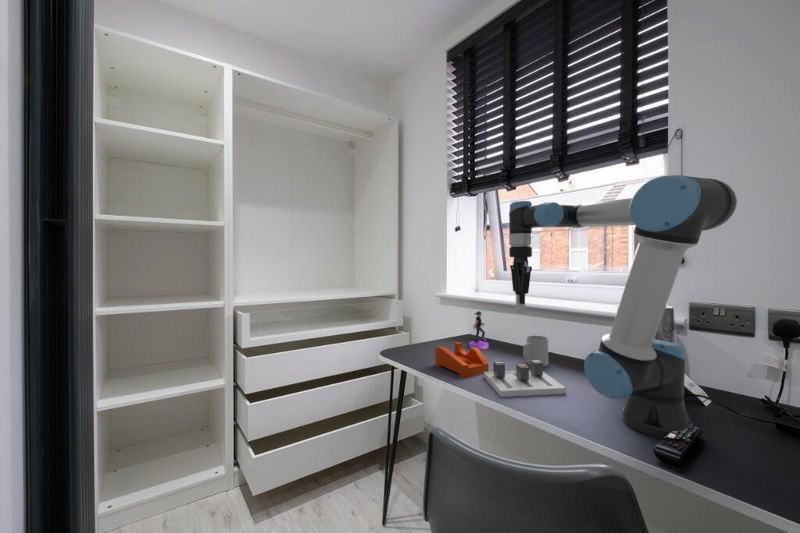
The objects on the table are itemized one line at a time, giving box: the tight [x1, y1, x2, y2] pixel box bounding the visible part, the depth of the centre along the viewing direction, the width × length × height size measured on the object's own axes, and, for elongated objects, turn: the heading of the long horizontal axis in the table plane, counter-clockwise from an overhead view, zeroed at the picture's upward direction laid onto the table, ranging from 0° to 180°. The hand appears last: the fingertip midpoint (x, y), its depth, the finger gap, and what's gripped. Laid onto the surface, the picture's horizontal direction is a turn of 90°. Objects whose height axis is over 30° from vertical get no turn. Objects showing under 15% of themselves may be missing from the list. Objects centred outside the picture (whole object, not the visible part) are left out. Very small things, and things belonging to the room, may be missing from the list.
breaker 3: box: [529, 360, 544, 376], centre depth 125 cm, size 4×3×5 cm
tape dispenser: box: [434, 341, 489, 379], centre depth 140 cm, size 18×13×8 cm
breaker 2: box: [515, 363, 530, 381], centre depth 121 cm, size 4×3×5 cm
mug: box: [522, 335, 549, 368], centre depth 143 cm, size 12×8×11 cm
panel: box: [483, 369, 567, 398], centre depth 121 cm, size 18×22×2 cm
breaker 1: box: [492, 361, 506, 378], centre depth 124 cm, size 4×3×5 cm
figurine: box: [468, 310, 489, 350], centre depth 171 cm, size 9×9×18 cm
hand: (520, 312), depth 121 cm, fingers closed
